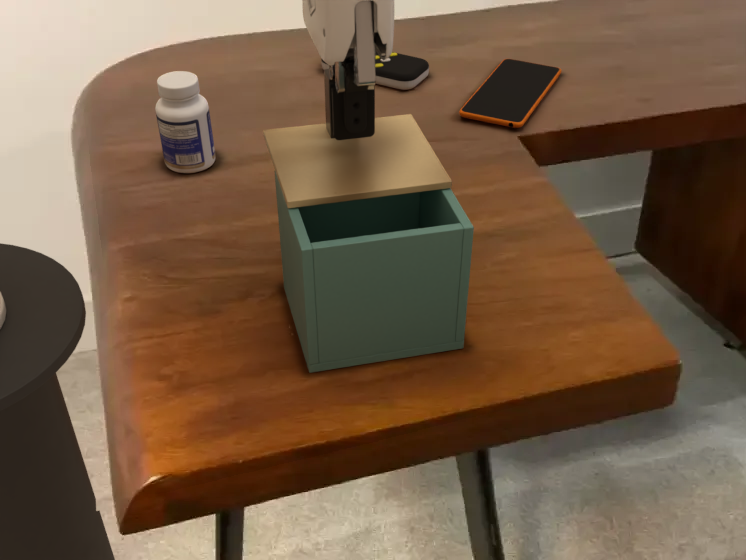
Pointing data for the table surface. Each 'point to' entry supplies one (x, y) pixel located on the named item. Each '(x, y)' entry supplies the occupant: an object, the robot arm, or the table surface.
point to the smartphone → (510, 93)
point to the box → (376, 276)
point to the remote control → (398, 70)
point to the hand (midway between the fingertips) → (352, 133)
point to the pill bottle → (184, 123)
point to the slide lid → (353, 161)
